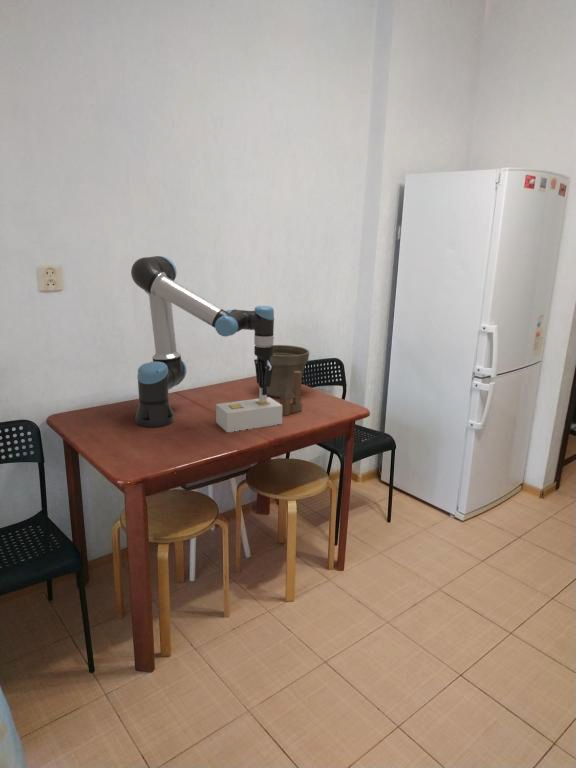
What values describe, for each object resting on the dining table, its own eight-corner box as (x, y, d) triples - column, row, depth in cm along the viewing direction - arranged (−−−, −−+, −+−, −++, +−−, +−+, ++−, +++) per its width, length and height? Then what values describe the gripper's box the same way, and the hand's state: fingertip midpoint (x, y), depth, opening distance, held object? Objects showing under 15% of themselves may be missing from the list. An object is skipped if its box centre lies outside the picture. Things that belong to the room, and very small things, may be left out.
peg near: (232, 426, 213) (233, 408, 211) (229, 422, 217) (229, 405, 215) (242, 424, 215) (242, 407, 213) (238, 421, 219) (238, 404, 216)
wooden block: (278, 414, 231) (279, 373, 226) (296, 409, 238) (297, 369, 233) (284, 416, 228) (285, 375, 223) (302, 411, 236) (303, 371, 231)
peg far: (260, 421, 219) (260, 404, 217) (256, 418, 222) (256, 401, 220) (268, 420, 221) (269, 403, 219) (264, 417, 224) (265, 400, 222)
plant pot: (288, 383, 277) (289, 342, 271) (317, 396, 257) (319, 352, 251) (246, 390, 263) (247, 347, 257) (273, 404, 244) (275, 357, 238)
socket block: (227, 432, 208) (227, 413, 206) (216, 422, 218) (216, 404, 216) (281, 423, 219) (282, 405, 217) (268, 414, 230) (269, 397, 227)
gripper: (279, 348, 209) (278, 405, 216) (265, 341, 220) (264, 396, 227) (262, 349, 205) (261, 407, 212) (248, 342, 216) (248, 398, 223)
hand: (263, 401), depth 219 cm, fingers closed
